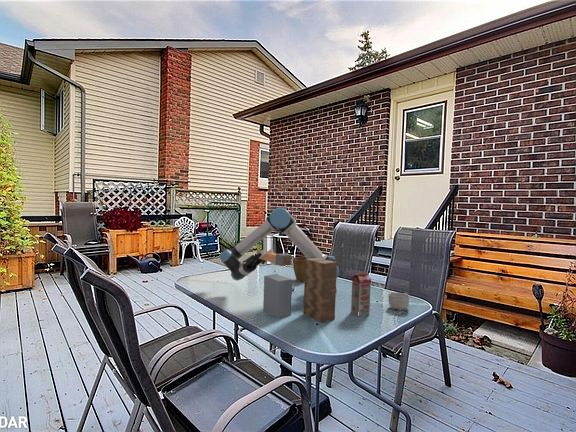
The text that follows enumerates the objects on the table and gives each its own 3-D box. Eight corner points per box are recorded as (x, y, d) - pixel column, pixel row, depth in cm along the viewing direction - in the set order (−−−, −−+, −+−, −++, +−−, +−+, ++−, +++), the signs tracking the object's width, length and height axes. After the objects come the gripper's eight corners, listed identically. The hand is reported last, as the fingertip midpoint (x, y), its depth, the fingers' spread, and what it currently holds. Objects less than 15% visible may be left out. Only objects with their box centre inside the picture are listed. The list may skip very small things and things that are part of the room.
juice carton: (350, 312, 172) (352, 270, 171) (361, 311, 174) (363, 269, 173) (358, 316, 166) (360, 273, 165) (369, 315, 168) (371, 272, 167)
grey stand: (263, 310, 170) (264, 275, 170) (275, 307, 175) (276, 274, 174) (278, 318, 160) (279, 281, 159) (291, 314, 165) (292, 279, 164)
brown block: (254, 258, 178) (255, 248, 178) (264, 257, 182) (264, 248, 182) (281, 265, 159) (281, 255, 159) (291, 264, 163) (291, 254, 163)
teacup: (398, 313, 174) (399, 298, 173) (383, 306, 183) (384, 292, 183) (417, 309, 180) (417, 295, 180) (401, 304, 190) (402, 290, 189)
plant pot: (312, 283, 231) (313, 260, 231) (291, 282, 231) (292, 259, 231) (311, 278, 246) (312, 257, 245) (291, 277, 246) (292, 256, 246)
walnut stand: (303, 314, 167) (305, 259, 166) (315, 311, 172) (317, 257, 170) (322, 322, 156) (325, 263, 155) (334, 319, 161) (336, 262, 160)
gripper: (261, 271, 193) (283, 256, 177) (236, 274, 183) (256, 259, 166) (258, 259, 196) (280, 244, 179) (233, 261, 185) (253, 245, 169)
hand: (268, 251), depth 173 cm, fingers closed on brown block, 4 cm apart
